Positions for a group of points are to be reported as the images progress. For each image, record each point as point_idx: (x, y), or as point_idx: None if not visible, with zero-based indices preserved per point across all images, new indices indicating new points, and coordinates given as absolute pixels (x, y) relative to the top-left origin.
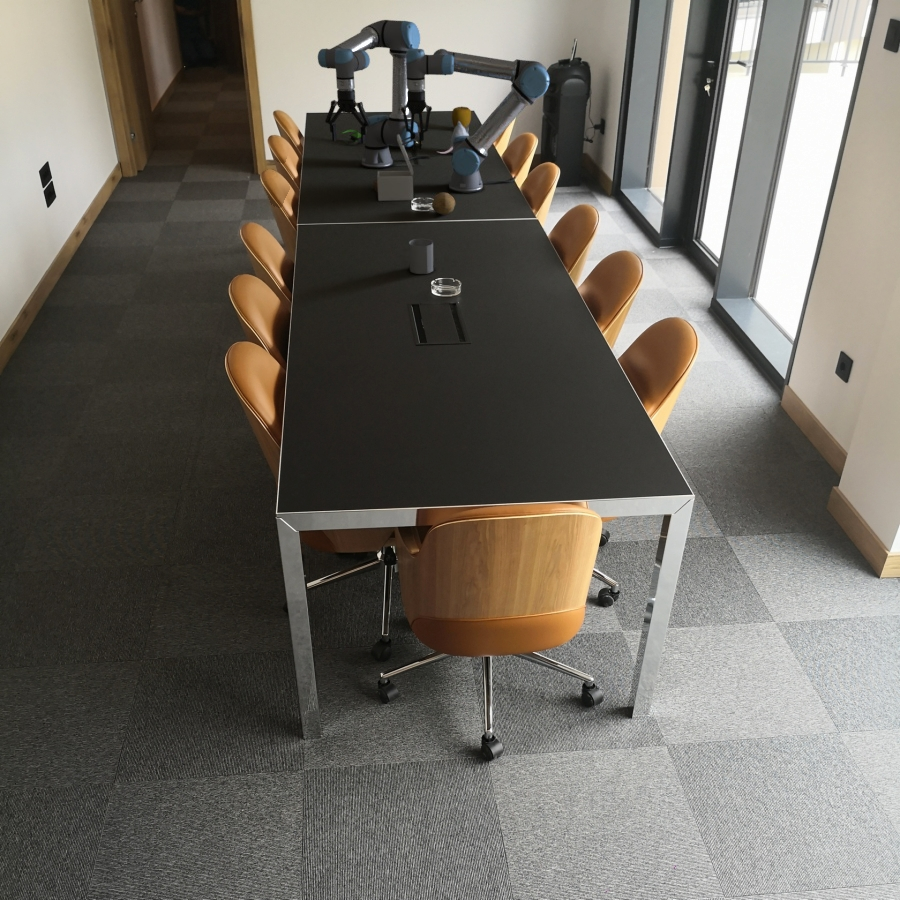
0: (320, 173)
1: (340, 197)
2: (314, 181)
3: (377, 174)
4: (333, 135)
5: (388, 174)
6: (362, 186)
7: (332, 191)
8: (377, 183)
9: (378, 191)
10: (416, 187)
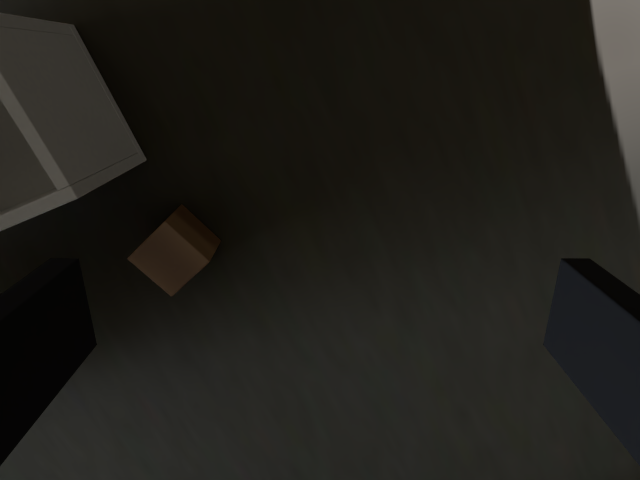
0: None
1: (342, 14)
2: None
3: (11, 92)
4: (618, 300)
5: (9, 210)
6: (307, 274)
7: (441, 128)
8: (161, 224)
9: (35, 19)
10: None
